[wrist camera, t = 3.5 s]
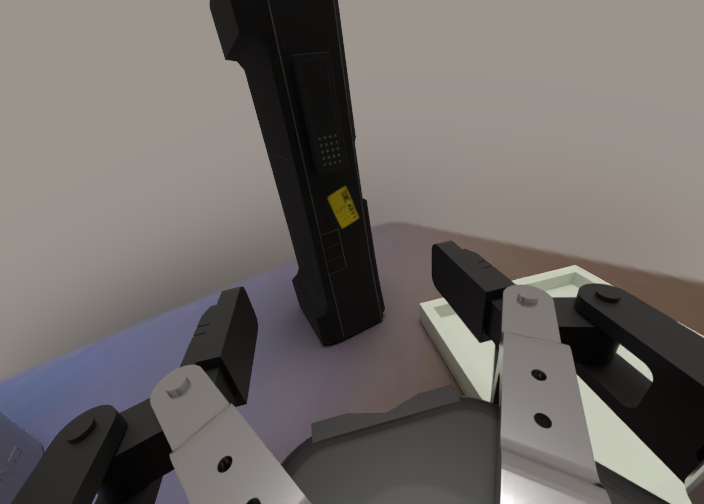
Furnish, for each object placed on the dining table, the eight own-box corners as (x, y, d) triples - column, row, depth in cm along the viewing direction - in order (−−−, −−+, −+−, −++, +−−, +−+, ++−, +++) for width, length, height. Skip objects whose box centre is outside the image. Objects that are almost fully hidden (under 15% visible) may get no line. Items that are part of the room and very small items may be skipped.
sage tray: (566, 563, 11) (578, 547, 10) (419, 320, 23) (419, 303, 22) (851, 458, 12) (884, 436, 11) (570, 282, 24) (575, 265, 23)
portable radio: (396, 325, 23) (357, -153, 11) (331, 359, 21) (188, -187, 8) (352, 281, 29) (296, -49, 17) (298, 304, 27) (190, -55, 15)
